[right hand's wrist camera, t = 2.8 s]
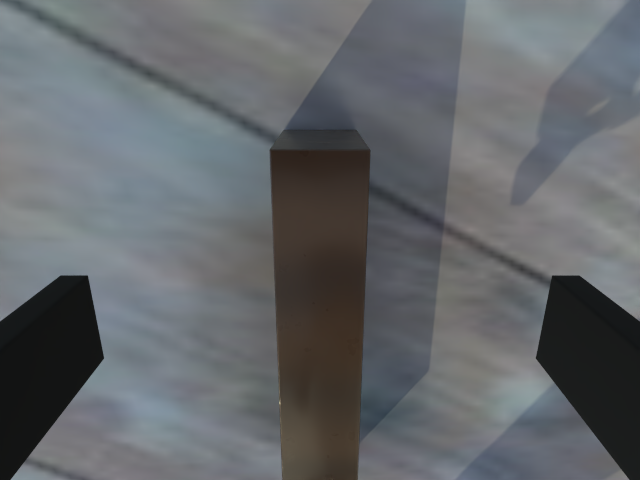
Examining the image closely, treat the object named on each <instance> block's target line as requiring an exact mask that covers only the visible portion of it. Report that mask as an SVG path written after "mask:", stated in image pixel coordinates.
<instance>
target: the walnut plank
mask: <svg viewBox="0 0 640 480" xmlns="http://www.w3.org/2000/svg"><path fill="white" fill-rule="evenodd" d="M270 172H271V198H272V223H273V249H274V275H275V301H276V327H277V353H278V379H279V405H280V431H281V457H282V480H358V457H359V432H360V406H361V380H362V354H363V328H364V302H365V276H366V250H367V224H368V198H369V172H370V149H369V148H368V146H367V145H366V143H365V142H364V140H363V139H362V138H361V136H360V135H359V133H358V132H357V130H283V132H282V133H281V135H280V136H279V138H278V139H277V140H276V142H275V143H274V145H273V146H272V148H271V149H270Z"/></svg>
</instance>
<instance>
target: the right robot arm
mask: <svg viewBox="0 0 640 480" xmlns="http://www.w3.org/2000/svg"><path fill="white" fill-rule="evenodd" d="M103 359H104V356H103V351H102V346H101V340H100V335H99V330H98V325H97V320H96V315H95V310H94V305H93V300H92V295H91V290H90V284H89V279H88V276H60V277H58V278H57V279H56V280H54V281H53V282H52V283H50V284H49V285H48V286H46V287H45V288H44V289H42V290H41V291H40V292H38V293H37V294H36V295H35V296H33V297H32V298H31V299H29V300H28V301H27V302H25V303H24V304H23V305H21V306H20V307H19V308H17V309H16V310H15V311H14V312H12V313H11V314H10V315H8V316H7V317H6V318H4V319H3V320H2V321H0V480H11V478H12V477H13V476H14V474H15V473H16V472H17V471H18V469H19V468H20V467H21V465H22V464H23V463H24V462H25V460H26V459H27V458H28V456H29V455H30V454H31V452H32V451H33V450H34V449H35V447H36V446H37V445H38V443H39V442H40V441H41V439H42V438H43V437H44V436H45V434H46V433H47V432H48V430H49V429H50V428H51V426H52V425H53V424H54V423H55V421H56V420H57V419H58V417H59V416H60V415H61V414H62V412H63V411H64V410H65V408H66V407H67V406H68V404H69V403H70V402H71V401H72V399H73V398H74V397H75V395H76V394H77V393H78V391H79V390H80V389H81V388H82V386H83V385H84V384H85V382H86V381H87V380H88V379H89V377H90V376H91V375H92V373H93V372H94V371H95V369H96V368H97V367H98V366H99V364H100V363H101V362H102V360H103ZM536 359H537V360H538V362H539V363H540V364H541V366H542V367H543V368H544V369H545V371H546V372H547V373H548V375H549V376H550V377H551V379H552V380H553V381H554V382H555V384H556V385H557V386H558V388H559V389H560V390H561V391H562V393H563V394H564V395H565V397H566V398H567V399H568V401H569V402H570V403H571V404H572V406H573V407H574V408H575V410H576V411H577V412H578V414H579V415H580V416H581V417H582V419H583V420H584V421H585V423H586V424H587V425H588V427H589V428H590V429H591V430H592V432H593V433H594V434H595V436H596V437H597V438H598V439H599V441H600V442H601V443H602V445H603V446H604V447H605V449H606V450H607V451H608V452H609V454H610V455H611V456H612V458H613V459H614V460H615V462H616V463H617V464H618V465H619V467H620V468H621V469H622V471H623V472H624V473H625V474H626V476H627V477H628V478H629V480H640V321H638V320H637V319H636V318H634V317H633V316H632V315H630V314H629V313H628V312H626V311H625V310H624V309H623V308H621V307H620V306H619V305H617V304H616V303H615V302H613V301H612V300H611V299H609V298H608V297H607V296H605V295H604V294H603V293H602V292H600V291H599V290H598V289H596V288H595V287H594V286H592V285H591V284H590V283H588V282H587V281H586V280H584V279H583V278H582V277H580V276H552V279H551V284H550V290H549V295H548V300H547V305H546V310H545V315H544V320H543V325H542V330H541V335H540V340H539V346H538V351H537V356H536Z"/></svg>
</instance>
